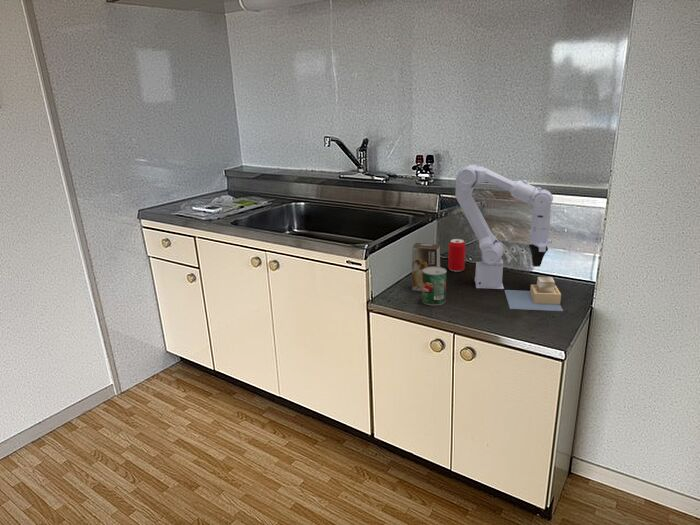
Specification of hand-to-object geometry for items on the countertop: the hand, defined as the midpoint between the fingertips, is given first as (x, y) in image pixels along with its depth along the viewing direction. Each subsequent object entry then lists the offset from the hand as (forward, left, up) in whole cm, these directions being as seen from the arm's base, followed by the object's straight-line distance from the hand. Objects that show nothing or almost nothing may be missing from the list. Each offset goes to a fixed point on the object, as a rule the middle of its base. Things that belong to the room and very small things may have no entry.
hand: (536, 265), depth 166 cm
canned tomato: (-34, -12, -10) cm, 37 cm away
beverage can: (-26, +20, -10) cm, 34 cm away
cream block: (+2, -8, -6) cm, 10 cm away
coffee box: (-37, -1, -10) cm, 38 cm away
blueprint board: (-2, -9, -9) cm, 13 cm away
